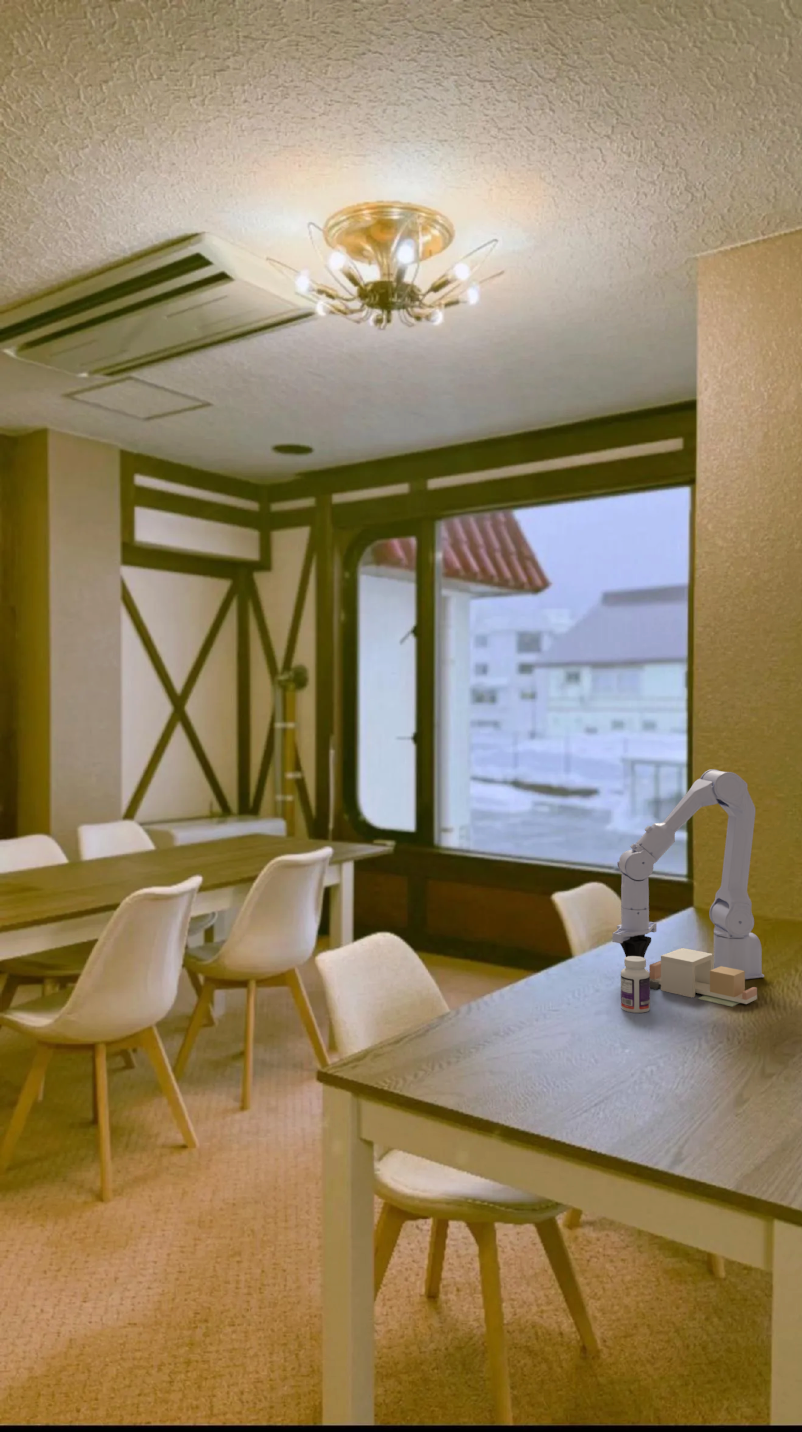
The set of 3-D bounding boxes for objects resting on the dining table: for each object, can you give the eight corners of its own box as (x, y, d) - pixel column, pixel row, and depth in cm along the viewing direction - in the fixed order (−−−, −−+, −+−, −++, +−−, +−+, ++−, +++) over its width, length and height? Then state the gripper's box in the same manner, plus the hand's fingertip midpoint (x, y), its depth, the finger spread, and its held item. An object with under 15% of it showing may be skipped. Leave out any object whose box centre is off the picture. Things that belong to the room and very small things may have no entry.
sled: (660, 977, 202) (660, 954, 202) (757, 998, 187) (756, 973, 187) (649, 982, 199) (649, 958, 199) (746, 1004, 184) (746, 978, 184)
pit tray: (656, 976, 205) (656, 970, 205) (677, 980, 201) (677, 975, 201) (635, 984, 199) (635, 978, 199) (656, 989, 195) (656, 983, 195)
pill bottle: (647, 1005, 185) (647, 955, 185) (652, 1014, 180) (651, 962, 180) (619, 1004, 186) (619, 954, 185) (622, 1013, 180) (622, 962, 180)
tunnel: (682, 981, 200) (682, 947, 200) (713, 988, 196) (713, 954, 195) (660, 990, 194) (660, 955, 194) (692, 997, 189) (692, 962, 189)
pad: (719, 989, 195) (719, 988, 195) (752, 997, 190) (752, 996, 190) (698, 999, 189) (698, 998, 189) (732, 1006, 184) (732, 1005, 184)
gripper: (636, 899, 211) (636, 960, 211) (599, 909, 201) (599, 973, 201) (665, 904, 206) (665, 966, 207) (629, 914, 196) (629, 980, 196)
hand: (634, 970), depth 204 cm, fingers closed
